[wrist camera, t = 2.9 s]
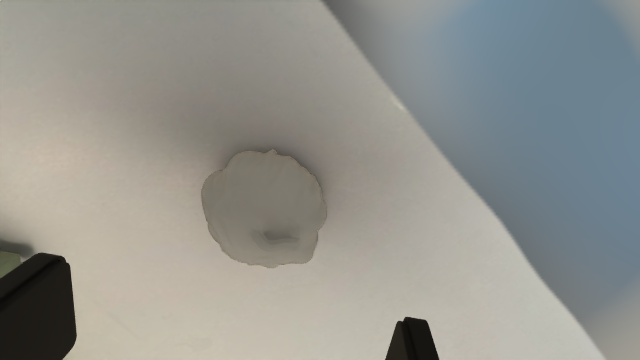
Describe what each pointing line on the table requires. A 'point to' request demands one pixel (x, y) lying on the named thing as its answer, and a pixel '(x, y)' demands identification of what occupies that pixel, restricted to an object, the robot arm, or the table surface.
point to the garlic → (264, 209)
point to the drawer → (8, 262)
